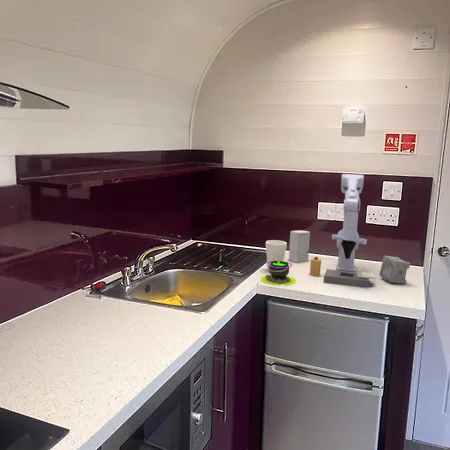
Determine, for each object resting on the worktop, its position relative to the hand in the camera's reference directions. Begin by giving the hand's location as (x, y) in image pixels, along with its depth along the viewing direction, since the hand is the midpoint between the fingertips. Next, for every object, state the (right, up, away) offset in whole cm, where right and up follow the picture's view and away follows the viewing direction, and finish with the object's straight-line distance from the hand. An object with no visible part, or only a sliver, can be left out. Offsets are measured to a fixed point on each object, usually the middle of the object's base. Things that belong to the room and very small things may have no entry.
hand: (347, 258), depth 199 cm
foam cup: (-29, -7, +14) cm, 33 cm away
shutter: (+7, -7, -2) cm, 10 cm away
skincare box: (-16, -4, +33) cm, 36 cm away
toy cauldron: (-29, -10, 0) cm, 31 cm away
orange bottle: (-12, -8, +10) cm, 17 cm away
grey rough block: (+21, -10, +3) cm, 23 cm away
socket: (0, -10, +1) cm, 10 cm away
